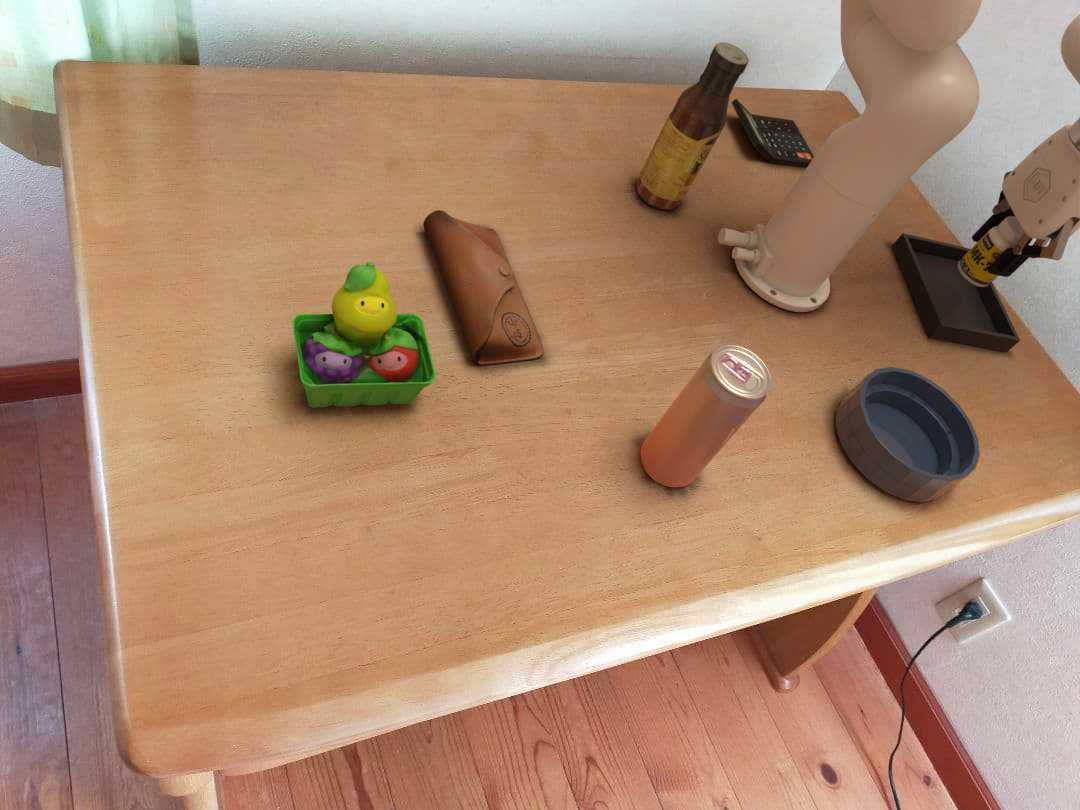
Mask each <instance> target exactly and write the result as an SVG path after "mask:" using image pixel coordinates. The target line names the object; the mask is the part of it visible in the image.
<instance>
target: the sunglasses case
mask: <svg viewBox="0 0 1080 810" xmlns="http://www.w3.org/2000/svg"><path fill="white" fill-rule="evenodd" d="M422 224H423V225H422V226H423V229H424V232H425V236H426V238H427V241H428V243H429V246H430V248H431V250H432V252H433V255H434V257H435V261H436V263H437V266H438V268H439V270H440V273H441V276H442V278H443V280H444V284H445V287H446V289H447V292H448V294H449V297H450V299H451V302H452V305H453V308H454V310H455V313H456V316H457V318H458V322H459V324H460V327H461V329H462V332H463V336H464V338H465V342H466V344H467V348H468V349H469V350H468V351H469V352H470V354H471V356H472V358H473V360H474V361H475V362H476V363H477V364H478V365H479V366H486V365H487V366H488V365H491V366H493V365H503V364H513V363H519V362H524V361H531V360H537V359H539V358H542V357H543V356H544V354H545V352H544V347H543V343H542V340H541V338H540V336H539V333H538V330H537V328H536V325H535V322H534V319H533V318H532V315H531V313H530V310H529V308H528V306H527V304H526V301H525V298H524V296H523V294H522V291H521V289H520V287H519V285H518V282H517V280H516V276H515V274H514V271H513V269H512V266H511V264H510V262H509V259H508V256H507V254H506V252H505V248H504V246H503V244H502V243H503V242H502V241H501V238H500V236H499V234H498V231H497V230H495V229H494V228H484V227H481V226H479V225H476V224H473V223H470V222H468V221H464V220H461V219H459V218H456V217H454V216H452V215H450V214H449V213H448V212H446V211H445V210H441V209H437V210H433V211H432V212H430V213H429V214H428V215H427V216H426V217H425V218H424V221H423V223H422Z"/></svg>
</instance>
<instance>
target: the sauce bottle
mask: <svg viewBox="0 0 1080 810" xmlns="http://www.w3.org/2000/svg"><path fill="white" fill-rule="evenodd" d="M749 60H750V59H749V56H748V55H747V54H746V53H745V52H744V51H743V50H742V48H740V47H739V46H736V45H735V44H732V43H729V42H725V41H724V42H723V41H722V42H717V43H716V44H715V46H714V47H713V49H712V51H711V52H710V55H709V58H708V63H707V65H706V66H705V69H704V70H703V72H702V73H701V74H700V76H699V81H697V82H696V83H694V84H692V85H690V86H689V87H687V88H686V89H684V90H683V92H681V94H680V95H679V97H678V98H677V100H676V102H675V105H674V107H673V109H672V111H671V112H670V113H669V114H668V117H667V119H666V120H665V122H664V125H663V126H662V128H661V131H659V134H658V137H657V138H656V140H655V142H654V145H653V147H652V148H651V151H650V152H649V154H648V156H647V159H646V161H645V163H644V164H643V167H642V168H641V171H640V173H639V177H638V179H637V180H636V184H635V186H636V191H637V193H638V195H639V197H640V198H641V199H642V200H643V201H644V202H645V203H647V204H648V205H649V206H651V207H654V208H657V209H659V210H665V211H667V210H668V211H669V210H673V209H675V208H676V207H678V206H679V204H681V201H682V200H683V199H684V198H685V197H686V196H687V194H688V192H689V190H690V189H691V187H692V185H693V183H694V181H695V180H696V179H697V176H698V175H699V173H700V171H701V169H702V168H703V165H704V164H705V162H706V161H707V159H708V157H709V155H710V153H711V152H712V150H713V148H714V147H715V144H716V142H717V141H718V139H719V137H720V136H721V133H722V132H723V129H724V128H725V127H726V126H725V125H726V122H727V121H726V120H727V114H728V108H729V107H728V106H729V102H730V97H731V96H730V95H731V94H732V92H733V89H734V88H735V85H736V83H737V81H738V80H739V77H740V76H741V75H742V74H743V73H744V72H745V71H746V68H747V66H748V64H749Z"/></svg>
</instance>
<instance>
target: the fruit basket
mask: <svg viewBox="0 0 1080 810" xmlns="http://www.w3.org/2000/svg"><path fill="white" fill-rule="evenodd" d="M375 267H376V265H375V263H374V262H371V261H367V262H366V264H356V265H354V266H352V267H351V268H350V269H349V271H348V273H347V275H346V278H345V282H344V283H343V285H341V286H340V288H339V289H338V290H337V291H336V293H335V294H334V297H333V298H332V299H333V300H332V302H331V313H300V314H297V315H295V316H294V317H293V318H292V321H291V324H292V330H293V336H294V342H295V349H296V355H297V361H298V371H299V378H300V381H301V384H302V386H303V388H304V392H305V395H306V401H307V405H308V406H309V407H310V408H311V409H312V408H328V407H331V406H335V407H356V406H359V405H364V406H383V405H386V404H392V405H409V404H410V403H411V402H413V400H414V399H415V398H416V397H417V396H418V395H419V394H420V393H421V392H422V391H423V390H424V389H425V388H426V387H427V388H428V387H429V386H430V385H431V384H432V383H434V381H435V380H436V379H437V373H436V369H435V364H434V361H433V357H432V356H433V355H432V353H431V350H430V344H429V340H428V336H427V332H426V327H425V323H424V320H423V318H421V317H420V316H419V315H418V314H415V313H398V311H397V305H396V303H395V299H394V297H393V295H392V293H391V289H390V282H389V278H388V277H387V276H386V274H384V273H383V272H382V271H380V270H379V269H378V268H375Z"/></svg>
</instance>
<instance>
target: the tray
mask: <svg viewBox="0 0 1080 810" xmlns="http://www.w3.org/2000/svg"><path fill="white" fill-rule="evenodd" d="M891 249H892V251H893V253H894V256H895V258H896V261H897V263H898V266H899V268H900V270H901V273H902V275H903V278H904V281H905V283H906V286H907V288H908V291H909V293H910V295H911V297H912V300H913V302H914V305H915V307H916V310H917V312H918V315H919V317H920V320H921V322H922V324H923V327H924V329H925V332H926V333H927V337H928V338H929V339H934V340H938V341H945V342H951V343H955V344H961V345H966V346H970V347H975V348H982V349H987V350H990V351H991V350H992V351H998V352H1003V353H1008V352H1009V351H1010V350H1012V348H1013V347H1015V346H1016V345H1017V344H1018V343H1019V342H1020V341H1021V339H1020V336H1019V335H1018V332H1017V331H1016V328H1015V326H1014V325H1013V322H1012V320H1011V318H1010V316H1009V314H1008V312H1007V310H1006V307H1005V306H1004V303H1003V302H1002V300H1001V298H1000V295H999V293H998V292H997V290H996V287H995V285H994V283H993V282H992V283H990V284H989V285H988V286H986V287H979V286H976V285H974V284H972V283H970V282H969V281H967V280H966V279H965V278H964V277H963V276H962V275H961V273H960V271H959V269H958V263H959V261H960V260H961V258H962V257H964V255H965V254H966V253H967V252H968V251H969V250H970V249H971V248H969V247H965V246H961V245H957V244H952V243H947V242H943V241H938V240H934V239H931V238H925V237H922V236H917V235H913V234H909V233H904V232H902V233H901V234H900V236H899V237H898V238H897V239H896V240H895V241H894V242H893V243H892V245H891Z"/></svg>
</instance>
